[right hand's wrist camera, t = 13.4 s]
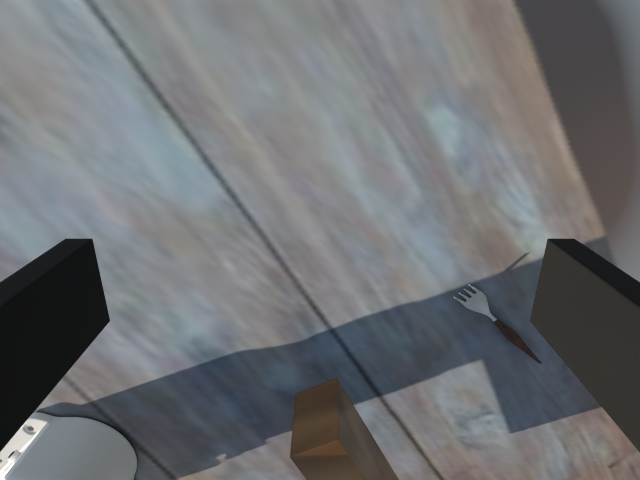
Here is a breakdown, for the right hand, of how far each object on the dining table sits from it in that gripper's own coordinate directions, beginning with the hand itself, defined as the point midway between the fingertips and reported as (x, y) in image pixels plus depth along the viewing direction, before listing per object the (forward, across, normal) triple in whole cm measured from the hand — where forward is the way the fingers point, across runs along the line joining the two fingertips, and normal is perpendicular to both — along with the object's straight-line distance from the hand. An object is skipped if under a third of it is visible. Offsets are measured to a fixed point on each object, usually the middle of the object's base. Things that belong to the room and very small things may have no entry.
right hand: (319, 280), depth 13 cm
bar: (+27, +5, -37) cm, 46 cm away
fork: (+32, +22, -22) cm, 45 cm away
